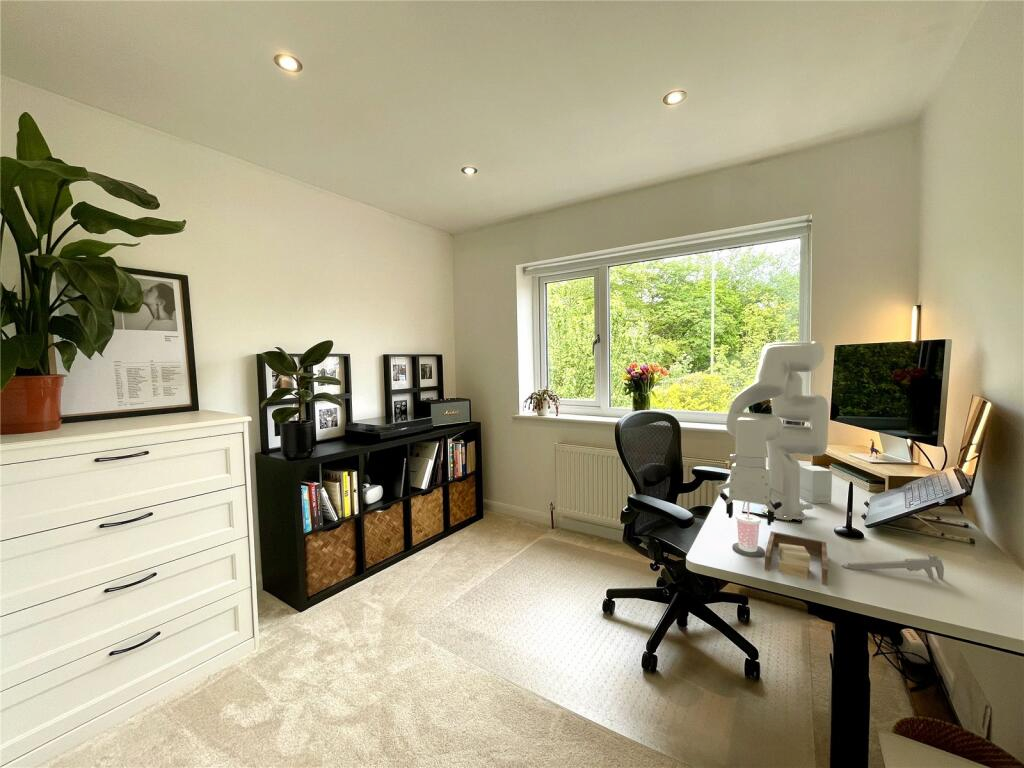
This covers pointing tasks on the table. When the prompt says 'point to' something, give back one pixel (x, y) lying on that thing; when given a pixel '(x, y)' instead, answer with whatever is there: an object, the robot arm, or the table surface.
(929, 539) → the table surface
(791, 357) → the robot arm
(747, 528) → the beverage cup
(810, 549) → the rack
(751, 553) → the coaster
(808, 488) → the supplement box
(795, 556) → the offcut upper
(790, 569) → the offcut lower
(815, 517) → the table surface
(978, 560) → the table surface
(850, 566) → the caliper
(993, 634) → the table surface
